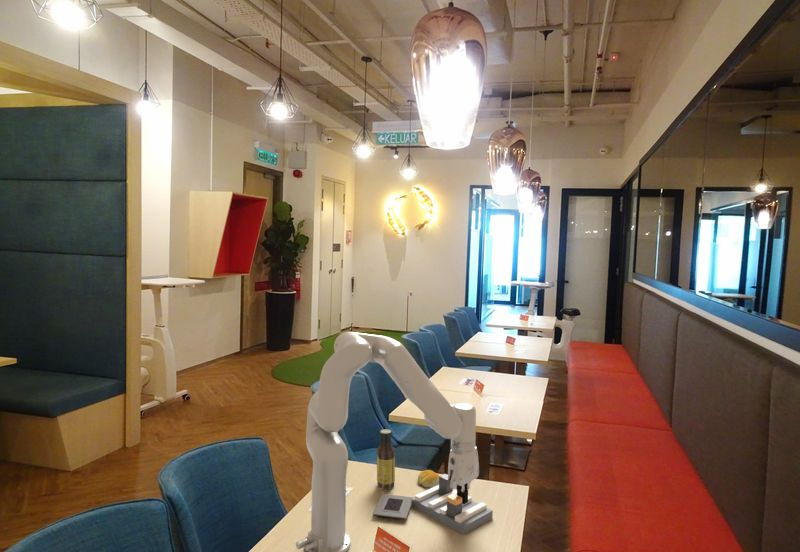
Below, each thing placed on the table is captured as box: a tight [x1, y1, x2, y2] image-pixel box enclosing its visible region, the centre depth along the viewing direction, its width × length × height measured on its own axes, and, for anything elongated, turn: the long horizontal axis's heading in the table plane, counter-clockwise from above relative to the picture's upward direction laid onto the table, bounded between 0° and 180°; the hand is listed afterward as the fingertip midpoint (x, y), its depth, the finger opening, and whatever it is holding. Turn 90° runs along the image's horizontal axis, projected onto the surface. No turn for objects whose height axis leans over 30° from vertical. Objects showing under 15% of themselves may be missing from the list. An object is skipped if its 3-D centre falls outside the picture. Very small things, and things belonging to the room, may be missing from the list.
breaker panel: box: [411, 485, 494, 536], centre depth 168 cm, size 14×22×4 cm, turn 43°
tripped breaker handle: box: [447, 494, 462, 518], centre depth 161 cm, size 3×4×6 cm
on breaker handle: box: [439, 473, 454, 495], centre depth 175 cm, size 3×4×6 cm
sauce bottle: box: [376, 429, 396, 490], centre depth 184 cm, size 6×6×20 cm
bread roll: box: [417, 469, 441, 489], centre depth 189 cm, size 8×9×4 cm
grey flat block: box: [372, 493, 415, 520], centre depth 169 cm, size 13×10×2 cm
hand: (462, 501), depth 164 cm, fingers closed
